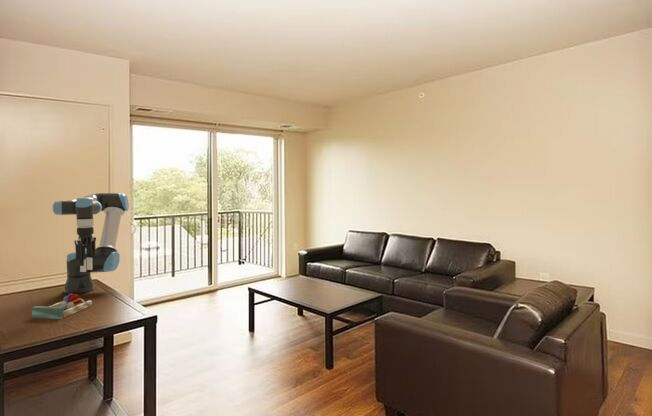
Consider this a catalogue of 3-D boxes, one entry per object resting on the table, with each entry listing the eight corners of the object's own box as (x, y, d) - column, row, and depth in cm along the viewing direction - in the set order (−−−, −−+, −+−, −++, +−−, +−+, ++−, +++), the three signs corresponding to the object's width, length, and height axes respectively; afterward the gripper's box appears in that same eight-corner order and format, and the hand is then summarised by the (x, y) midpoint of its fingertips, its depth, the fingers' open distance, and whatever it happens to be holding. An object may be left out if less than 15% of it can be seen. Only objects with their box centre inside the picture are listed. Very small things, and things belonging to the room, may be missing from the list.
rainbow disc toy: (73, 311, 189) (72, 296, 189) (56, 309, 191) (56, 295, 191) (87, 306, 198) (86, 292, 197) (71, 304, 200) (70, 291, 199)
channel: (66, 304, 200) (66, 294, 200) (92, 305, 199) (91, 295, 198) (32, 318, 179) (31, 307, 179) (60, 319, 178) (60, 308, 177)
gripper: (89, 225, 212) (91, 267, 213) (66, 228, 195) (67, 274, 196) (102, 225, 211) (103, 267, 212) (80, 228, 194) (81, 274, 195)
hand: (86, 270), depth 204 cm, fingers open, 4 cm apart
